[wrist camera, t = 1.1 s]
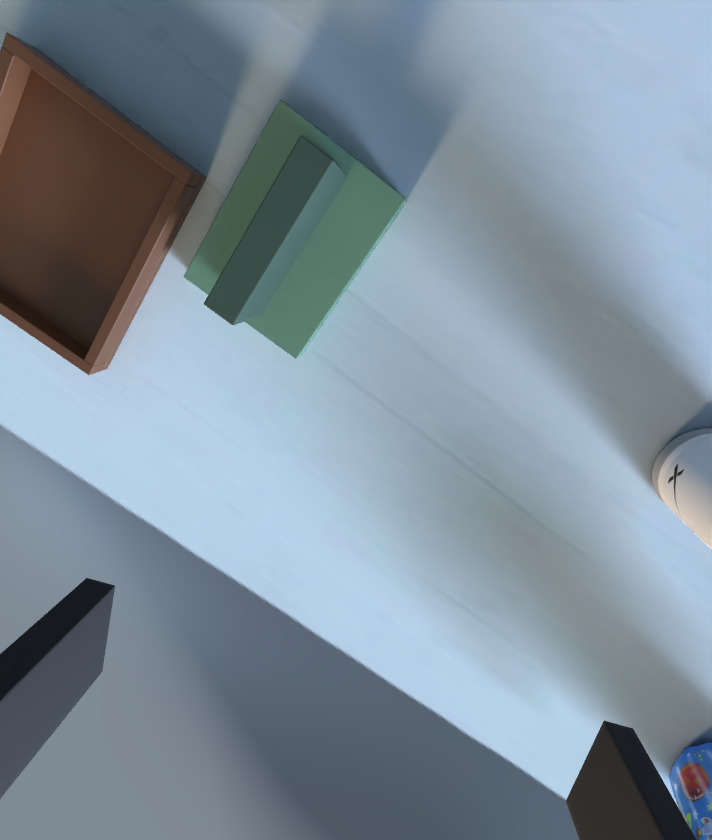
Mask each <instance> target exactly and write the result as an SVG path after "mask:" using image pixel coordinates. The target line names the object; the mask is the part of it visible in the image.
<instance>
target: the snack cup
mask: <svg viewBox="0 0 712 840" xmlns="http://www.w3.org/2000/svg"><path fill="white" fill-rule="evenodd" d="M669 778H670V783H671V787H672V790H673V793H674V797H675V798H676V801H677V804H678V807H679V810H680V812H681V813H682V815H683V817H684V819H685V820H686V822H687V824H688V826H689V827H690V829H691V831H692V833H693V834H694V836H695V838H696V840H712V742H709V743H705V744H702V745H699V746H696V747H688V748H685V749H684V750H683V753H682V754H681V755H680V756H679V757H678V758H677V759H676V761H675V762H674V765H673V767H672V769H671V773H670V775H669Z"/></svg>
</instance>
